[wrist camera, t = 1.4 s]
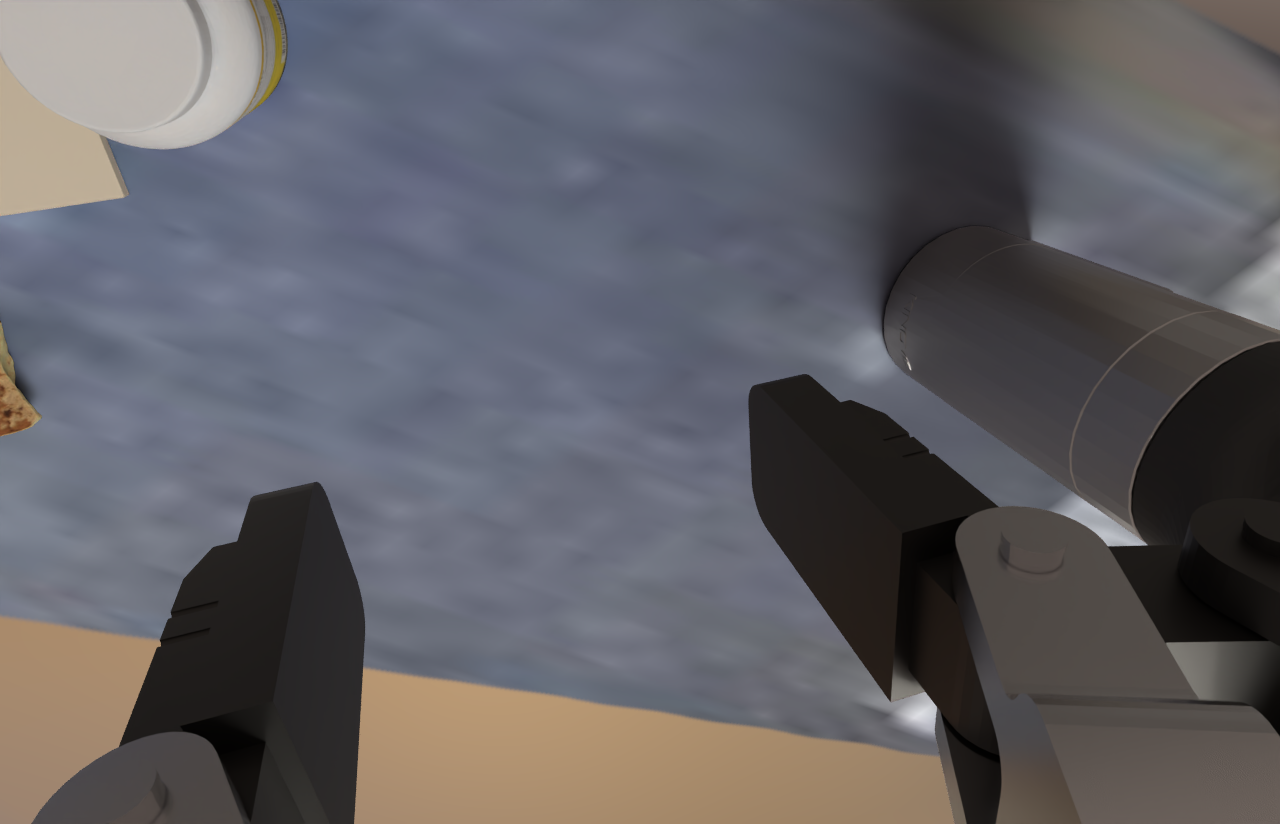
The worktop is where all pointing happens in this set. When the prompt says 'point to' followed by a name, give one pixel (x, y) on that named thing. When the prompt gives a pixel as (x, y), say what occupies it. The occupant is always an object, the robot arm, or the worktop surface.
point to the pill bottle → (146, 63)
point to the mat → (49, 156)
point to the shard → (12, 397)
